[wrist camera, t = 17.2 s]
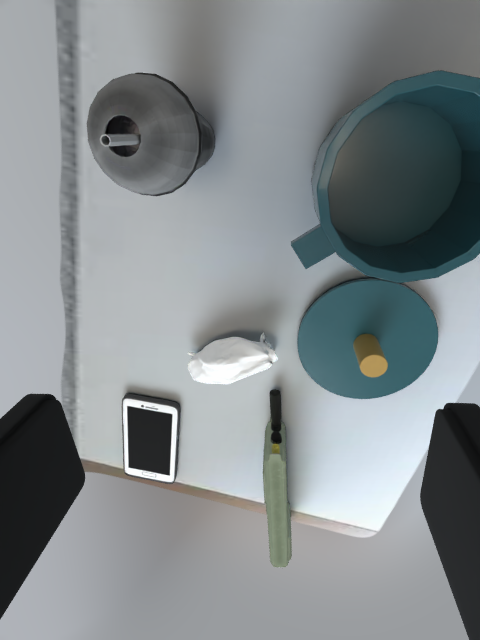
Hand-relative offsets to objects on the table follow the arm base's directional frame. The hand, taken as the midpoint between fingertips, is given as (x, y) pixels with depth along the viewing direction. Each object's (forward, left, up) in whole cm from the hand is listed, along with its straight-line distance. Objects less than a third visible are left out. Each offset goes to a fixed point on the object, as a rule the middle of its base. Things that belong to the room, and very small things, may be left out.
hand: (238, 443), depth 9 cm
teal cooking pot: (-4, +10, -30) cm, 32 cm away
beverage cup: (-8, -8, -31) cm, 33 cm away
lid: (+13, +9, -30) cm, 34 cm away
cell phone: (+29, -19, -30) cm, 46 cm away
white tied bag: (+15, -6, -31) cm, 35 cm away
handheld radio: (+32, -1, -31) cm, 44 cm away
